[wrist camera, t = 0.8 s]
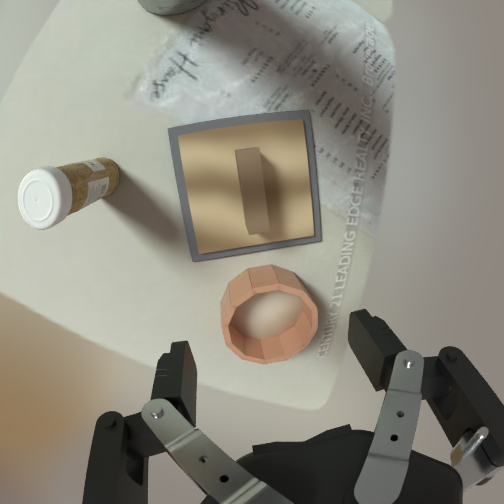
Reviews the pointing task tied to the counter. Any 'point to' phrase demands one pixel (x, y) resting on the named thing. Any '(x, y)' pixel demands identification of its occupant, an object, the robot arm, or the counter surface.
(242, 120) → the rubber mat
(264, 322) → the terracotta ring
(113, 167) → the sprinkles bottle
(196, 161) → the board
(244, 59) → the counter surface
